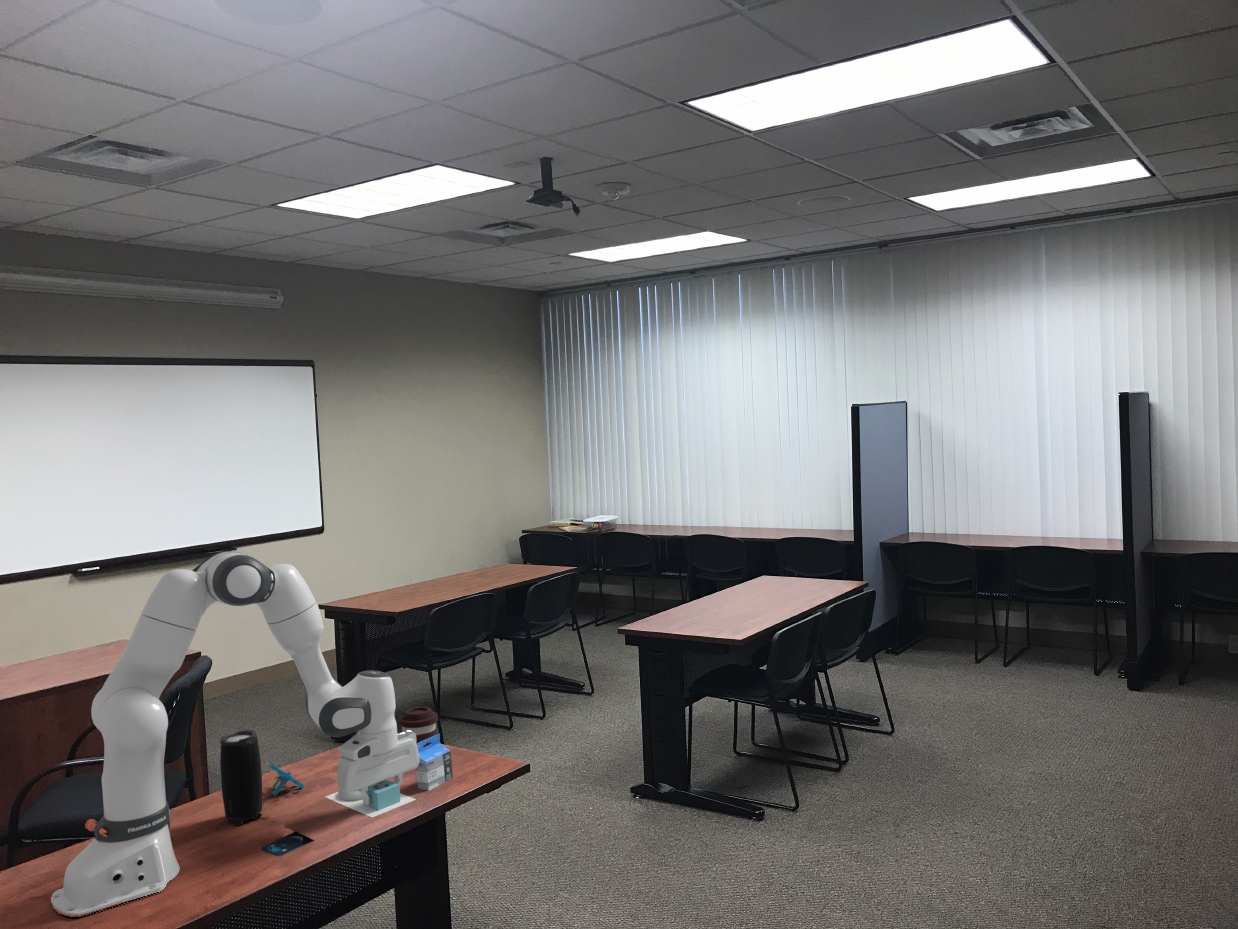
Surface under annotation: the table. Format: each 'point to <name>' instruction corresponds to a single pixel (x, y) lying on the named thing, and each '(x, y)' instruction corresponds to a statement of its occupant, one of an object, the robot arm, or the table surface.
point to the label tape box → (433, 764)
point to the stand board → (356, 801)
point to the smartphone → (286, 844)
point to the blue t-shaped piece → (283, 780)
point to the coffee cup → (420, 723)
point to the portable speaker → (241, 777)
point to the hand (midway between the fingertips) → (381, 798)
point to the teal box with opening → (384, 795)
